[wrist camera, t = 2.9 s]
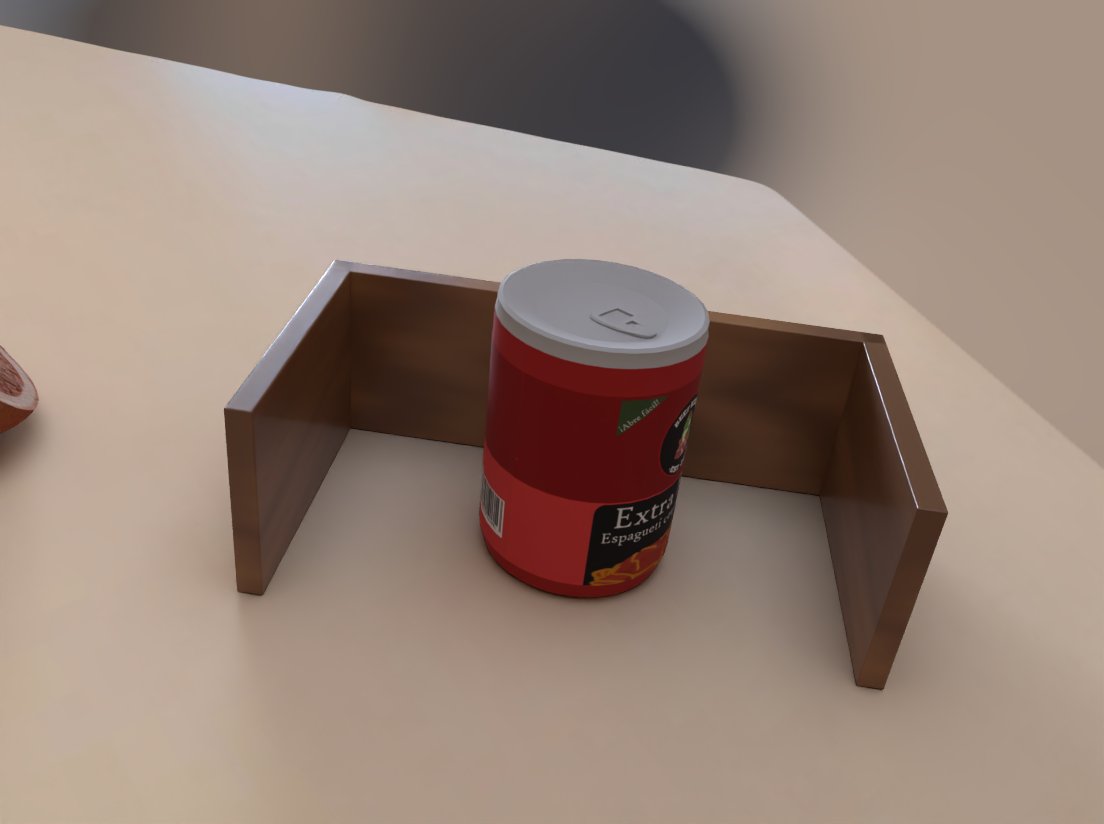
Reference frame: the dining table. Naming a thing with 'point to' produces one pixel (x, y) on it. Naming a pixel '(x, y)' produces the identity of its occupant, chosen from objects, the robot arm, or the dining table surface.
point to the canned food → (587, 422)
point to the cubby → (712, 451)
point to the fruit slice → (14, 393)
